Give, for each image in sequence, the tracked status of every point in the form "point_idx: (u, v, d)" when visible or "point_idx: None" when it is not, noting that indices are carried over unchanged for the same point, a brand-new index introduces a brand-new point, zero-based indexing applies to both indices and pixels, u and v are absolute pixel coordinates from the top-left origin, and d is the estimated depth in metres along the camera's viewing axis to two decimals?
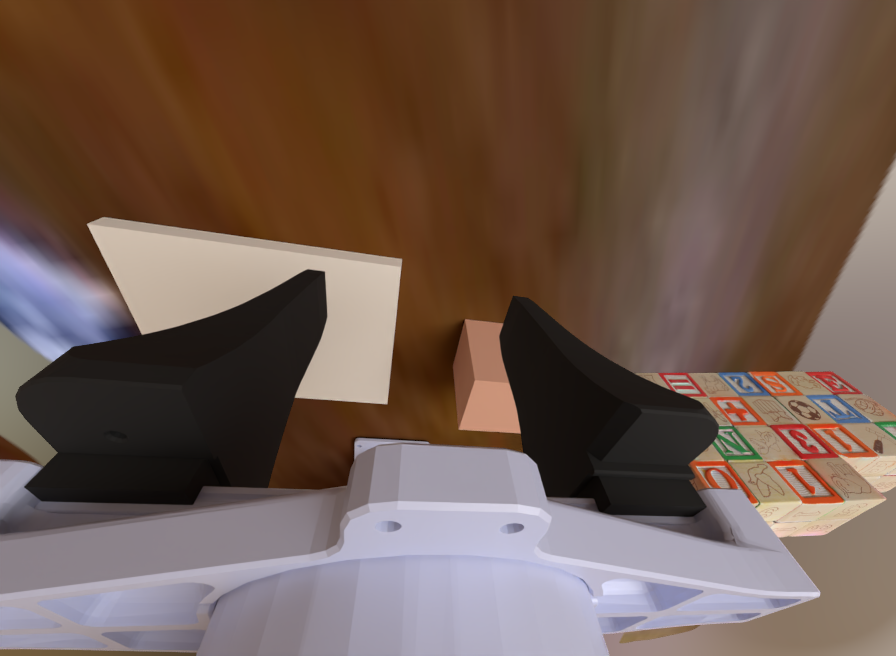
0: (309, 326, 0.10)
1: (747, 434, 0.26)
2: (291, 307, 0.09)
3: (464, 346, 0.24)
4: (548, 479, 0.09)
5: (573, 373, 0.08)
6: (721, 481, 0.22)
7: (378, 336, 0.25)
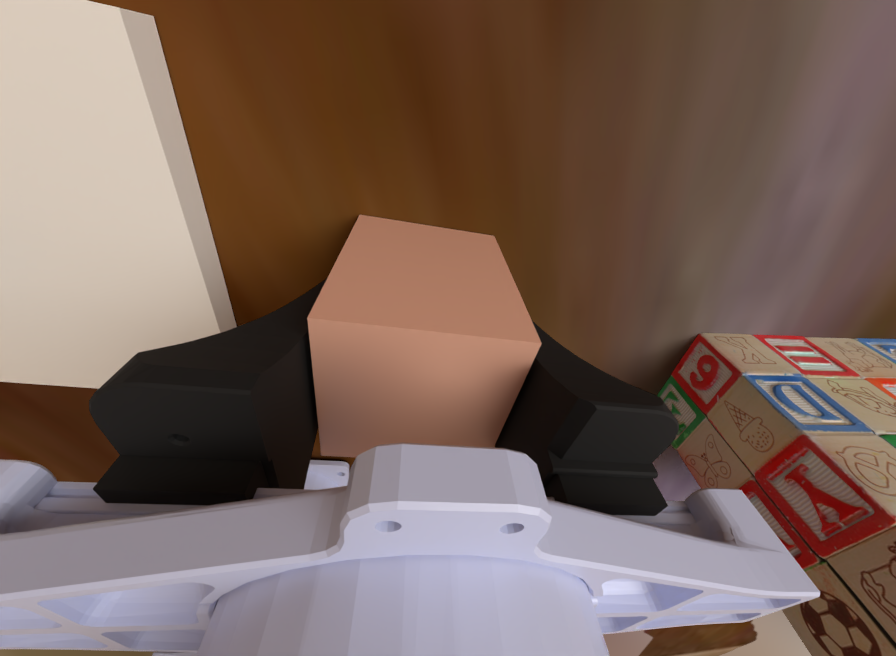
0: None
1: None
2: None
3: None
4: None
5: (538, 369, 0.08)
6: None
7: (156, 244, 0.11)
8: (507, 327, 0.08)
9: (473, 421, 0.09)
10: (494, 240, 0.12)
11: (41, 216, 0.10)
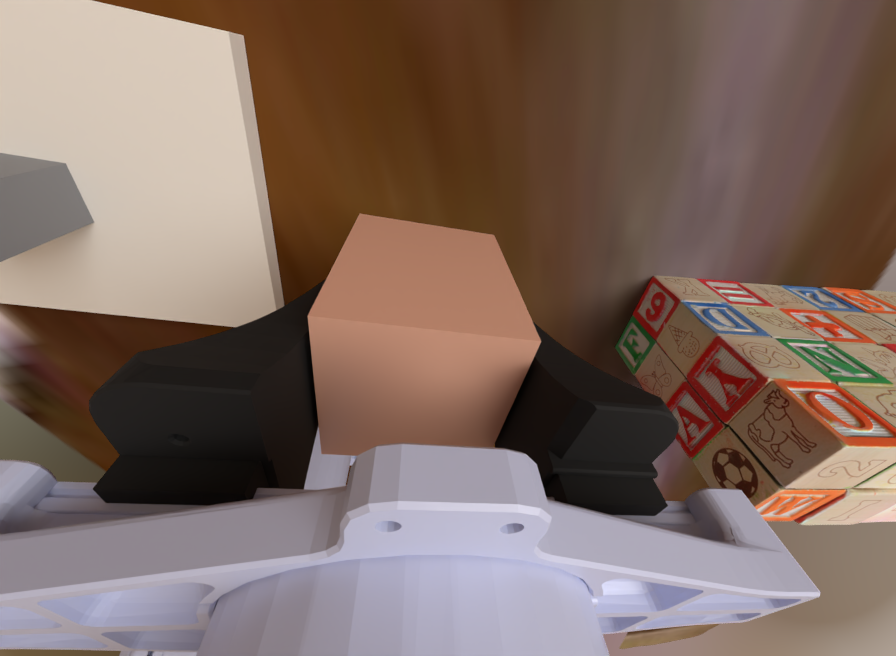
0: None
1: (853, 352, 0.16)
2: None
3: None
4: None
5: (537, 369, 0.08)
6: (838, 411, 0.12)
7: (231, 198, 0.15)
8: (507, 325, 0.08)
9: (473, 419, 0.09)
10: (494, 239, 0.12)
11: (152, 176, 0.14)
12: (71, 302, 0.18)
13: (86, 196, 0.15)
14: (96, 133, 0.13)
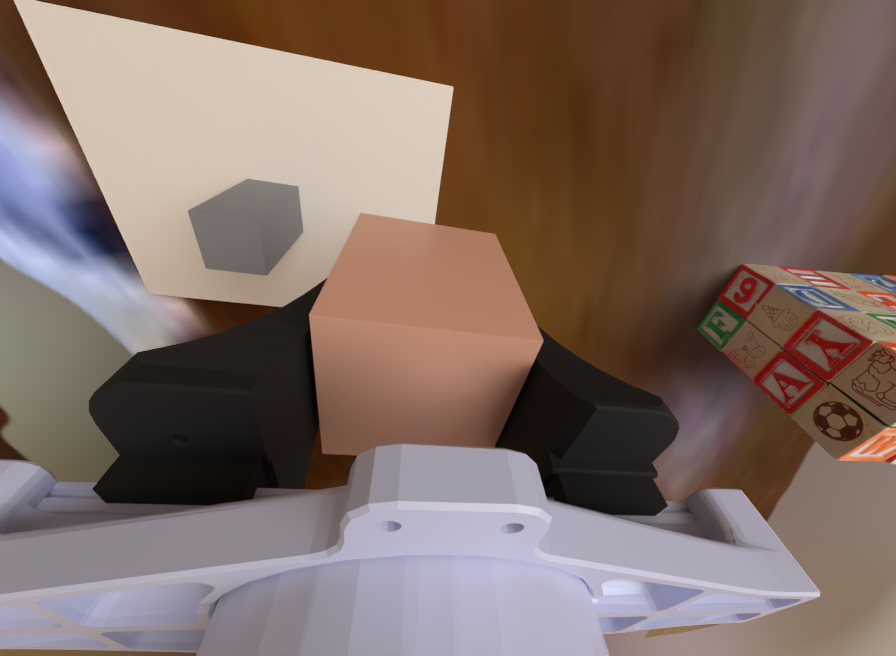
0: None
1: None
2: None
3: None
4: None
5: (538, 369, 0.08)
6: None
7: (416, 211, 0.19)
8: (509, 324, 0.08)
9: (475, 419, 0.09)
10: (495, 238, 0.12)
11: (361, 194, 0.18)
12: (261, 298, 0.22)
13: (304, 211, 0.18)
14: (329, 163, 0.17)
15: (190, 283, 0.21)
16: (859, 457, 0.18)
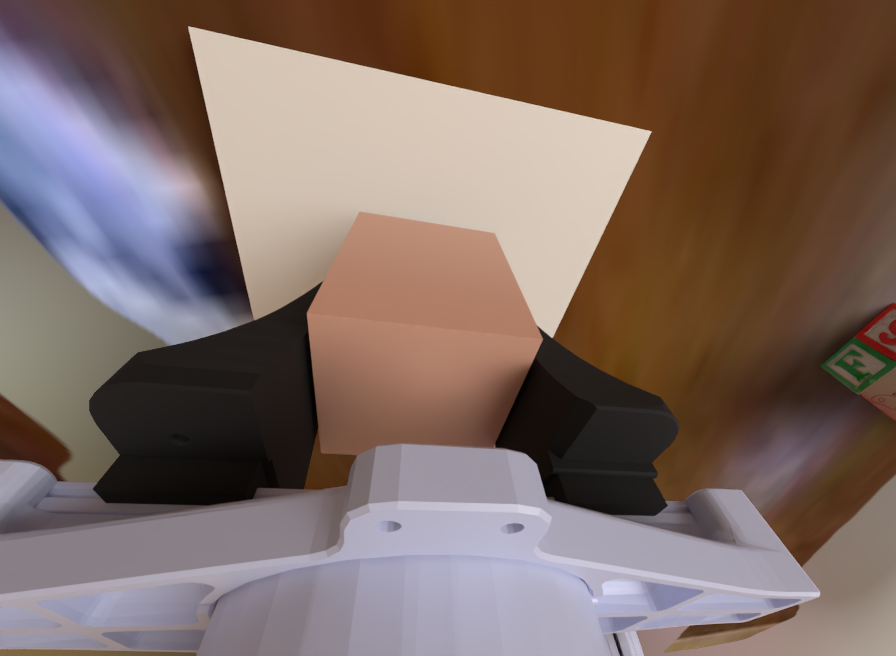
0: None
1: None
2: None
3: None
4: None
5: (537, 369, 0.08)
6: None
7: (569, 258, 0.17)
8: (508, 323, 0.08)
9: (474, 418, 0.09)
10: (495, 237, 0.12)
11: (516, 241, 0.16)
12: None
13: None
14: (492, 208, 0.15)
15: None
16: None
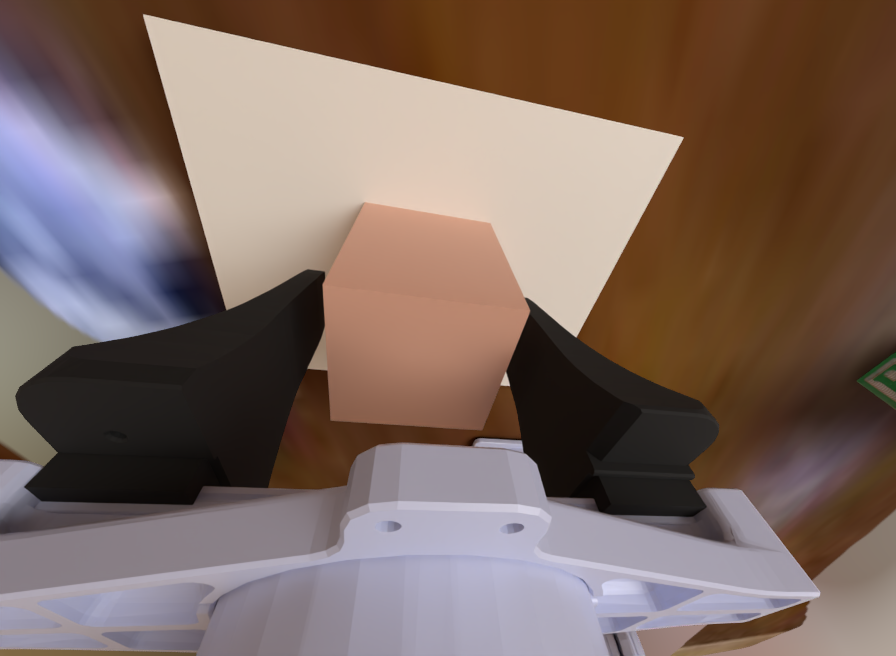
0: (309, 326, 0.10)
1: None
2: (291, 307, 0.09)
3: None
4: (548, 479, 0.09)
5: (573, 373, 0.08)
6: None
7: (585, 276, 0.15)
8: (500, 297, 0.09)
9: (469, 387, 0.10)
10: (490, 226, 0.13)
11: (526, 259, 0.15)
12: None
13: None
14: (500, 223, 0.14)
15: None
16: None
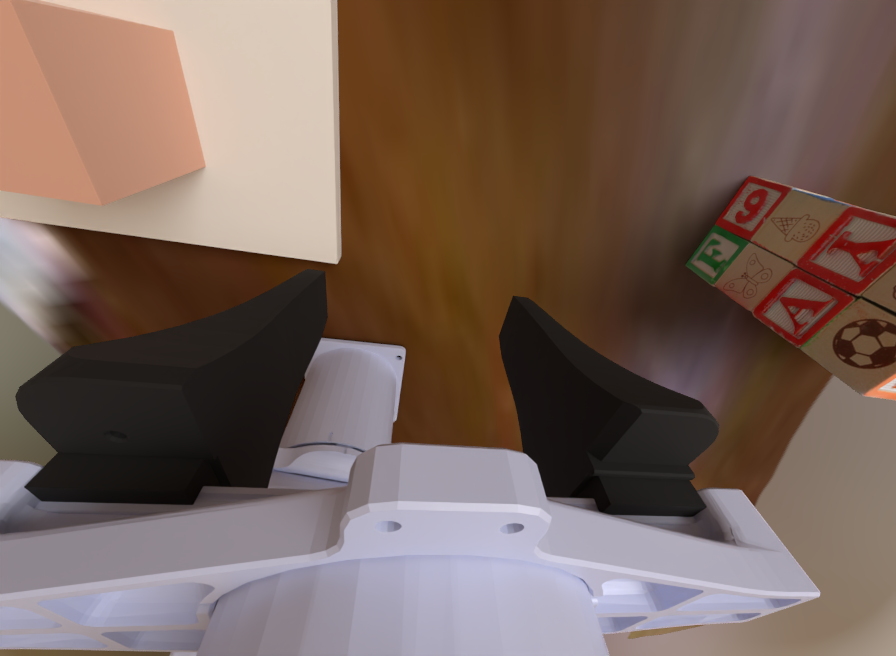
0: (309, 326, 0.10)
1: None
2: (291, 307, 0.09)
3: None
4: (548, 479, 0.09)
5: (573, 373, 0.08)
6: None
7: (308, 109, 0.15)
8: None
9: (35, 129, 0.10)
10: (163, 29, 0.13)
11: (234, 82, 0.14)
12: (135, 226, 0.18)
13: None
14: (184, 32, 0.13)
15: (41, 202, 0.17)
16: (891, 393, 0.13)
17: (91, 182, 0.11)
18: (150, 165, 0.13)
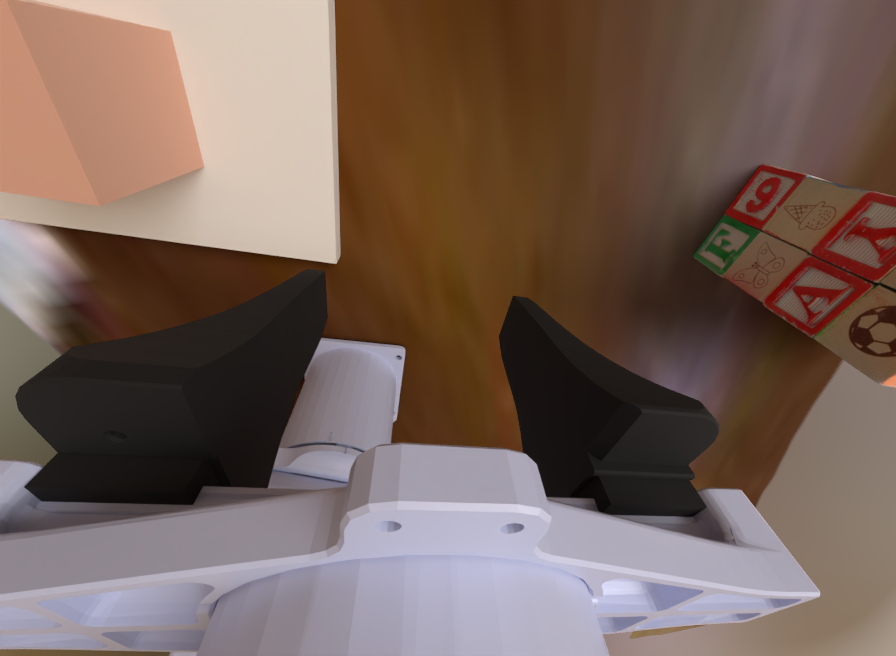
0: (309, 326, 0.10)
1: None
2: (291, 307, 0.09)
3: None
4: (548, 479, 0.09)
5: (573, 373, 0.08)
6: None
7: (306, 109, 0.15)
8: None
9: (32, 130, 0.10)
10: (161, 29, 0.13)
11: (232, 82, 0.14)
12: (134, 227, 0.18)
13: None
14: (182, 32, 0.13)
15: (41, 203, 0.17)
16: None
17: (89, 182, 0.11)
18: (148, 165, 0.13)
